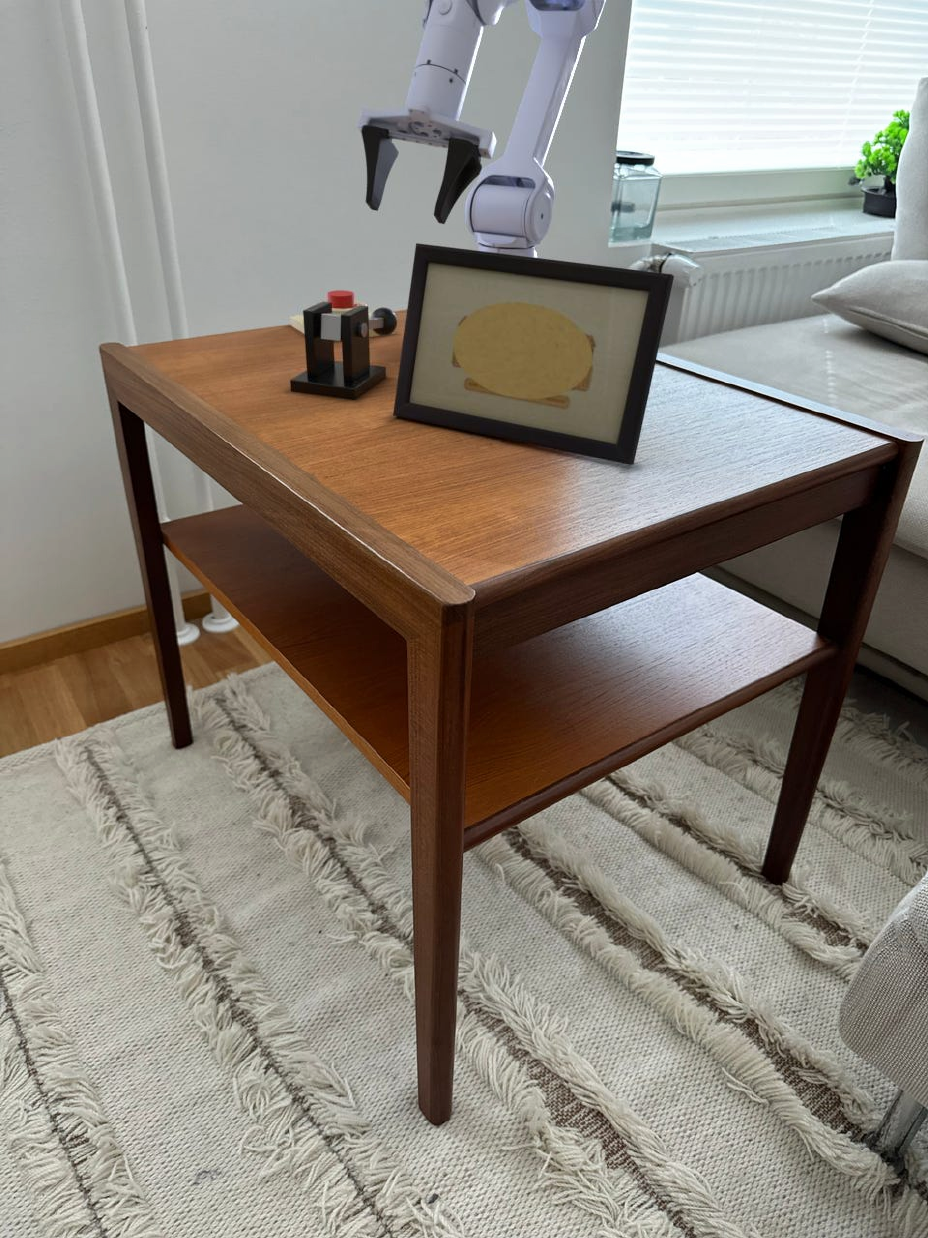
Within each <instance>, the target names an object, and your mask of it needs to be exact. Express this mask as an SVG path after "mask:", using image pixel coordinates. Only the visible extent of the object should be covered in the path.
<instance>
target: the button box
mask: <svg viewBox="0 0 928 1238" xmlns="http://www.w3.org/2000/svg"><path fill="white" fill-rule="evenodd" d="M323 301H325V302H328V299H327V300H322V301H319V302H317V303H316V304H318V303H321V302H323ZM354 304H355V307H357V306H359V305H362V306H368V304H367V303H365V302H363V301H361V300H355V299H354ZM355 307H353V308H355ZM353 308H347V309H335V308H332V313H340V314H344V313H345V312H347V311H349V310H351V309H353ZM368 313H369V318H370V317H371V315H372V313H373V312H371V311H369V310H368ZM289 320H290V326H291V327H293V328H294V329H296V330H297V331H299V332H300V333H302V334H304V319H303V314H297V315H289ZM395 334H396V329H395V330H394V332H393V333H391V334H390V335H395ZM380 336H381V335H378V334H376V333H375V332H374V331H373V329H369V338H373V337H380Z"/></svg>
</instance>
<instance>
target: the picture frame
mask: <svg viewBox="0 0 928 1238" xmlns="http://www.w3.org/2000/svg"><path fill="white" fill-rule="evenodd" d="M411 271H412V272H411V278H410V286H409V292H408V300H407V308H406V316H405V323H404V332H403V338H402V344H401V352H400V360H399V368H398V369H399V370H398V375H397V382H396V389H395V396H394V397H395V398H394V404H393V412H392V416H393V417H398V418H404V419H408V420H414V421H417V422H423V423H428V424H433V425H437V426H442V427H447V428H451V429H457V430H462V431H464V432H465V431H466V432H470V433H475V434H480V435H484V436H489V437H494V438H500V439H504V440H509V441H514V442H518V443H523V444H528V445H532V446H536V447H537V446H538V447H542V448H545V449H552V450H556V451H561V452H565V453H566V452H567V453H571V454H575V455H580V456H585V457H590V458H594V459H599V460H604V461H610V462H613V463H618V464H623V465H628V466H634V465H635V461H636V455H637V451H638V446H639V442H640V438H641V437H640V436H641V431H642V428H643V423H644V419H645V413H646V408H647V404H648V400H649V395H650V390H651V386H652V381H653V378H654V377H653V376H654V372H655V367H656V362H657V358H658V354H659V353H658V352H659V349H660V344H661V339H662V335H663V330H664V325H665V321H666V315H667V312H668V311H667V310H668V307H669V302H670V298H671V292H672V288H673V285H674V284H673V283H674V280H675V279H674V278H675V275H674V274H672V273H665V272H658V271H649V270H640V269H633V268H623V267H615V266H606V265H600V264H591V263H590V264H589V263H582V262H575V261H565V260H557V259H550V258H541V257H537V258H534V257H526V256H517V255H509V254H501V253H493V252H485V251H478V250H477V249H476V250H475V249H467V248H461V247H460V248H459V247H450V246H441V245H436V244H435V245H433V244H425V243H419V242H418V243H417V242H415V248H414V255H413V262H412V270H411Z"/></svg>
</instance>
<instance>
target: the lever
mask: <svg viewBox="0 0 928 1238" xmlns="http://www.w3.org/2000/svg"><path fill="white" fill-rule="evenodd" d="M371 313H372V315H371V317H370V318H369V329H373V331H374V332H375V333H376V334H378V335H381V336H382V337H388V336H391V335H392V334H391V333H393V332H394V330H395V331H396V329H397V325H398V318H397V315H396V314H395V312H394V311H393V310H392V309H390V308H388V307H378V308H376V309H375V310H374V311H373V312H371ZM341 315H342V314H340V313H324V314H321V339H323V340H332V341H334V342H341V343H342V331H341Z"/></svg>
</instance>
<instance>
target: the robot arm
mask: <svg viewBox="0 0 928 1238" xmlns="http://www.w3.org/2000/svg"><path fill="white" fill-rule="evenodd" d="M606 1H607V0H524V5H525V9H526V15H527V19H528V24H529V28H530V29H531V30H532V31H533V32H534V33H536V35H538V36H539V37H541V42H540V44H539V47H538V50H537V53H536V57H535V59H534V62H533V66H532V69H531V71H530V74H529V76H528V77H529V78H528V79H527V84H526V86H525V89H524V92H523V95H522V99H521V100H520V101H521V102H520V105H519V107H518V110H517V114H516V117H515V119H514V123H513V126H512V129H511V132H510V134H509V137H508V141H507V144H506V147H505V150H504V153H503V155H502V156H500V157H499V158H497V159H496V160H494V161H492V162H491V163H489V164H487V165H485V166H484V167H483V165H482V163H481V162H482V159H487V160H492V159H493V155H494V152H495V148H496V144H497V139H496V136H495V134H494V131H493V130H488V129H484V128H480V127H477V126H474V125H471V124H469V123H465V122H463V121H460V118H461V114H462V110H463V107H464V104H465V98H466V96H467V91H468V88H469V85H470V80H471V77H472V73H473V70H474V67H475V66H474V65H475V62H476V58H477V54H478V52H479V47H480V44H481V40H482V36H483V33H484V28H485V26H492V27H494V26H496V24H497V23H498V21H499V18H500V17H501V13H502V11H503V10H505V9H507V8H509V7H511V6H513V5H515V4H517V3H518V2H520V0H424V10H423V13H422V17H421V18H422V19H421V20H422V24H421V25H422V27H421V28H422V29H423V35H422V39H421V43H420V46H419V49H418V50H419V51H418V54H417V57H416V62H415V65H414V69H413V73H412V77H411V80H410V83H409V87H408V92H407V95H406V99H405V103H404V107H403V108H389V109H388V108H387V109H367V108H361V110H360V115H359V118H358V121H357V122H358V123H357V128H358V130H359V132H360V133H361V137H362V138H361V139H362V143H363V148H364V154H365V163H366V164H365V165H366V193H365V203H366V205H367V206H368V207H369V209H370V210H372V211H377V212H378V210H379V208H380V206H381V203H382V201H383V200H382V199H383V196H384V192H385V187H386V184H387V181H388V178H389V175H390V173H391V170H392V168H393V166H394V164H395V161H396V160H397V158H398V156H399V154H400V153H399V150H398V148H397V147H396V145H395V144H394V143H393V140H398V141H403V142H409V143H415V144H420V145H425V146H430V147H434V148H443V149H447V153H446V160H445V166H444V172H443V175H442V180H441V185H440V188H439V192H438V193H437V194H438V195H437V198H436V201H435V205H434V210H433V217H434V218H435V220H436V221H437V223H438V224H441V225H445V224H446V222H447V220H448V218H449V216H450V215H451V214H450V213H451V212H452V210H453V208H454V207H455V205H456V203H457V202H458V200H459V199H460V197H461V196H462V194H463V193H464V191H465V190H466V189H467V188H468V187H469V185H470V184H471V183H472V182H473V181H474V180H475V179H476V178H477V180H476V182H475V184H474V185H473V186H472V187H471V189H470V191H469V193H468V194H467V197H466V199H465V204H464V205H465V206H464V219H465V224H466V226H467V229H468V231H469V233H470V234H471V235H472V236H473V243H478V249H477V251H485V252H493V253H501V254H509V255H517V256H526V257H534V258H538V254H537V252H536V249H535V248H536V246H537V245H540V244H541V242H542V240H543V239H544V238H545V237H546V236H547V234H548V231H549V230H550V227H551V223H552V216H553V215H552V214H553V207H554V201H555V198H556V190H555V186H554V184H553V181H552V178H551V177H550V176H549V174H548V173H547V172H546V170H545V169H544V168H543V167H544V165H545V161H546V159H547V155H548V153H549V150H550V147H551V144H552V140H553V137H554V134H555V132H556V131H555V130H556V128H557V126H558V122H559V119H560V116H561V114H562V110H563V107H564V105H565V104H564V103H565V101H566V98H567V95H568V92H569V90H570V86H571V83H572V80H573V77H574V74H575V70H576V68H577V64H578V62H579V59H580V56H581V53H582V49H583V46H584V43H585V39H586V38H587V36H588V35H590V34H591V33H592V32H593V31H595V30H596V29H597V27H598V23H599V20H600V18H601V15H602V12H603V9H604V8H605V4H606Z"/></svg>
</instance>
